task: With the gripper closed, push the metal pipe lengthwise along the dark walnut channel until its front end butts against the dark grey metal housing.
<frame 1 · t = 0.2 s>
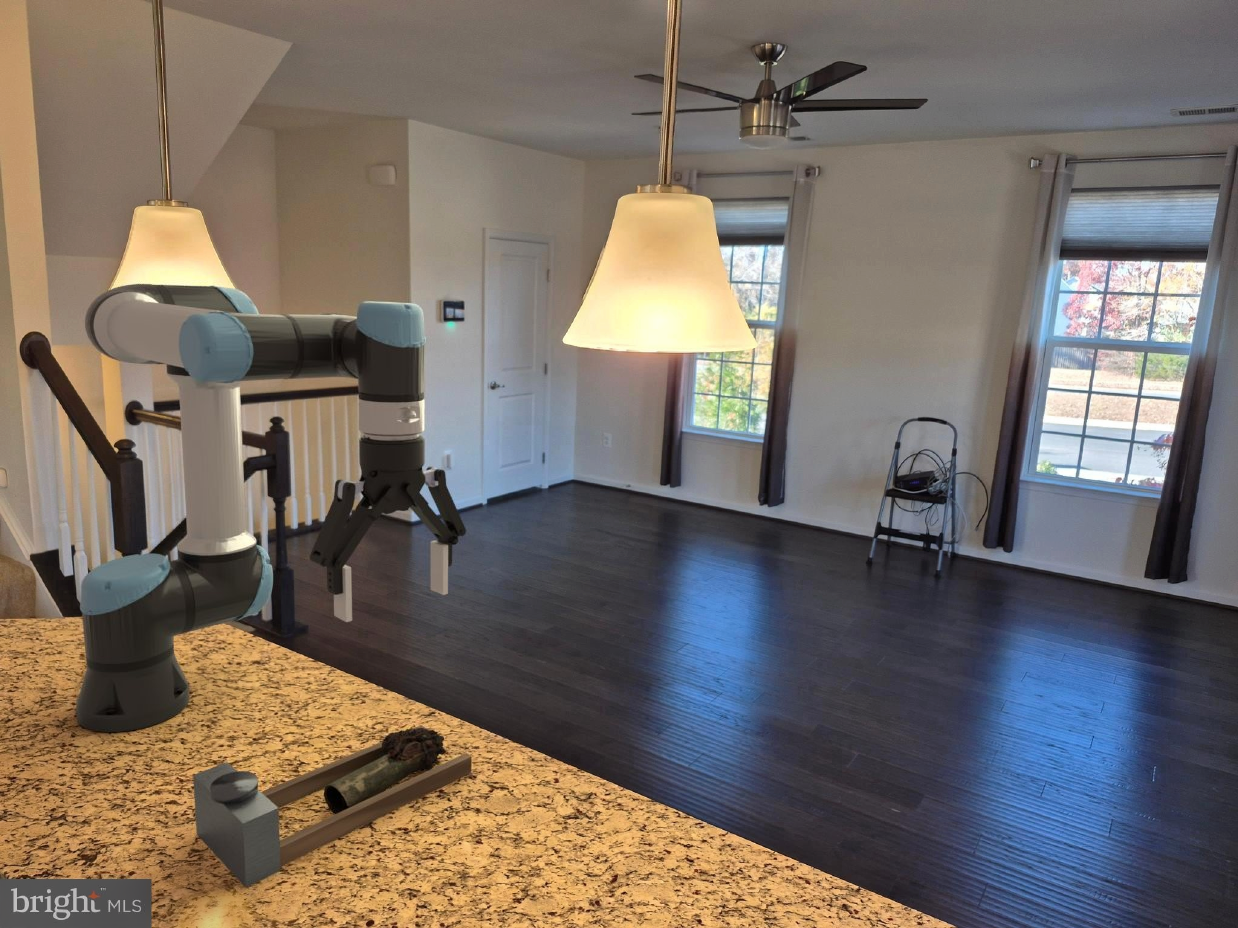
hand: (393, 604, 102), 28 cm above the countertop, tool pointing down, fingers open, 13 cm apart
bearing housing: (237, 851, 98), on the countertop
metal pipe: (386, 784, 113), on the countertop
channel rails: (358, 795, 110), on the countertop
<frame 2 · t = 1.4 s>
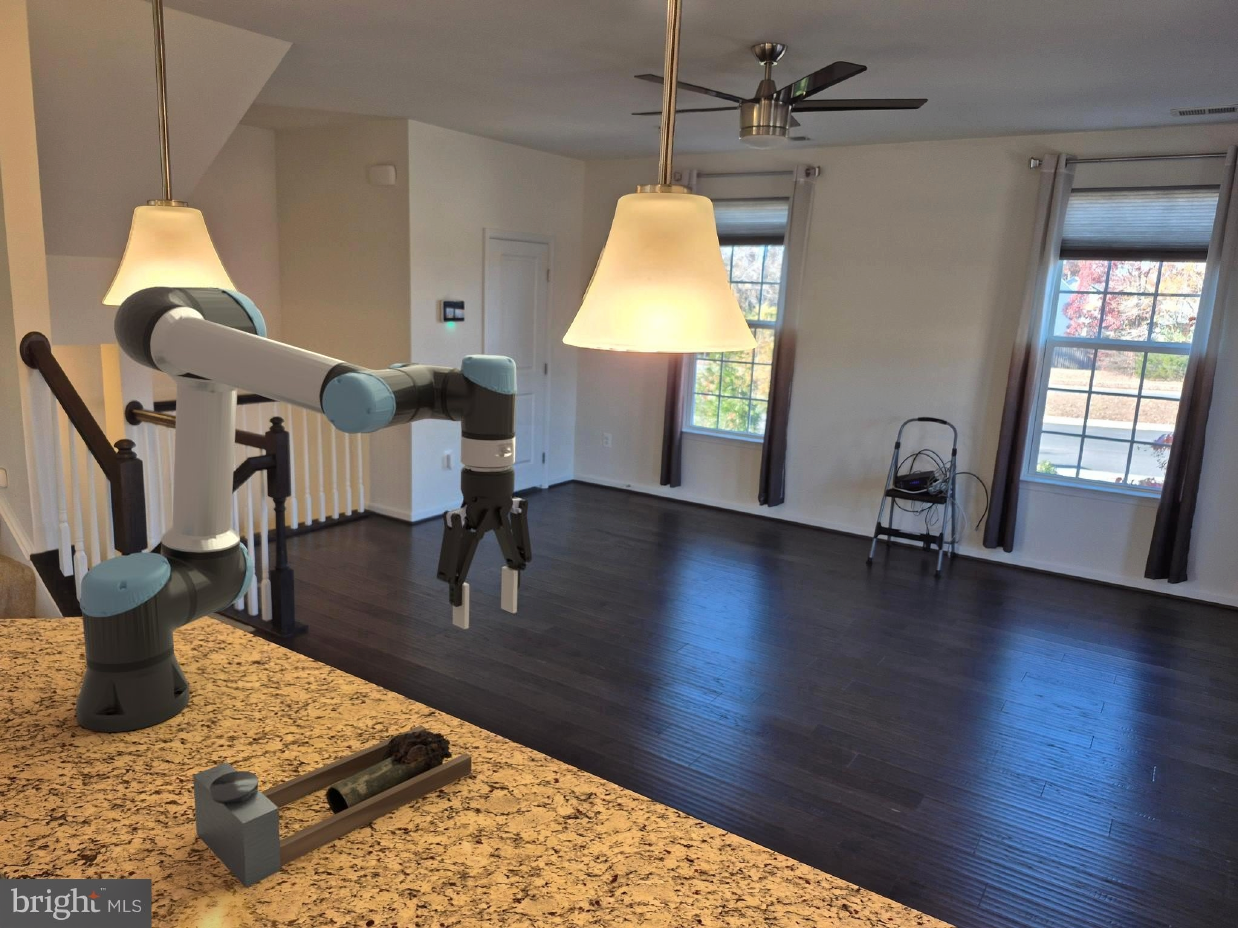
hand: (485, 617, 121), 19 cm above the countertop, tool pointing down, fingers open, 8 cm apart
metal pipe: (391, 787, 112), on the countertop
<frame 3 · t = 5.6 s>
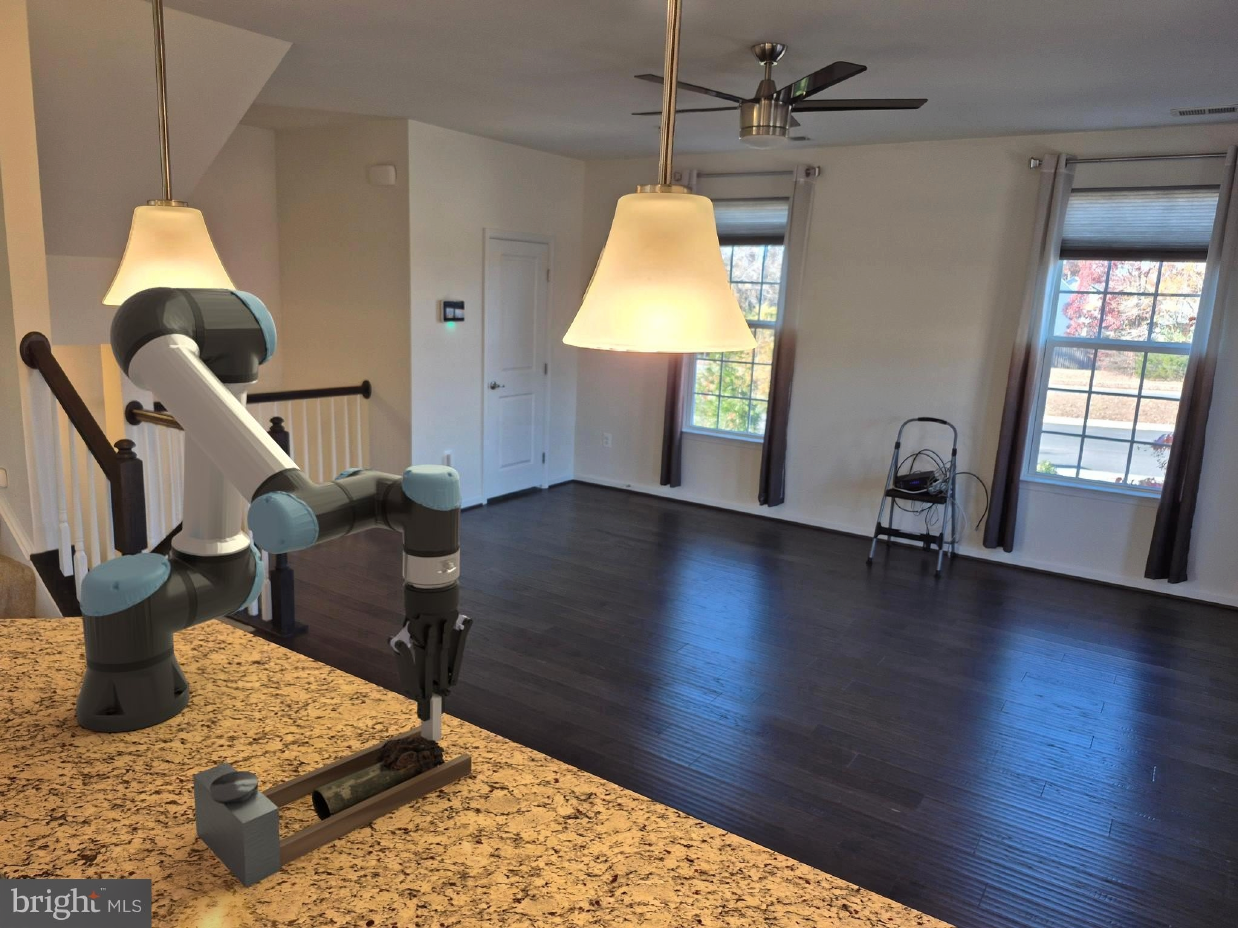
hand: (431, 737, 118), 4 cm above the countertop, tool pointing down, fingers closed
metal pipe: (380, 793, 111), on the countertop, touching gripper
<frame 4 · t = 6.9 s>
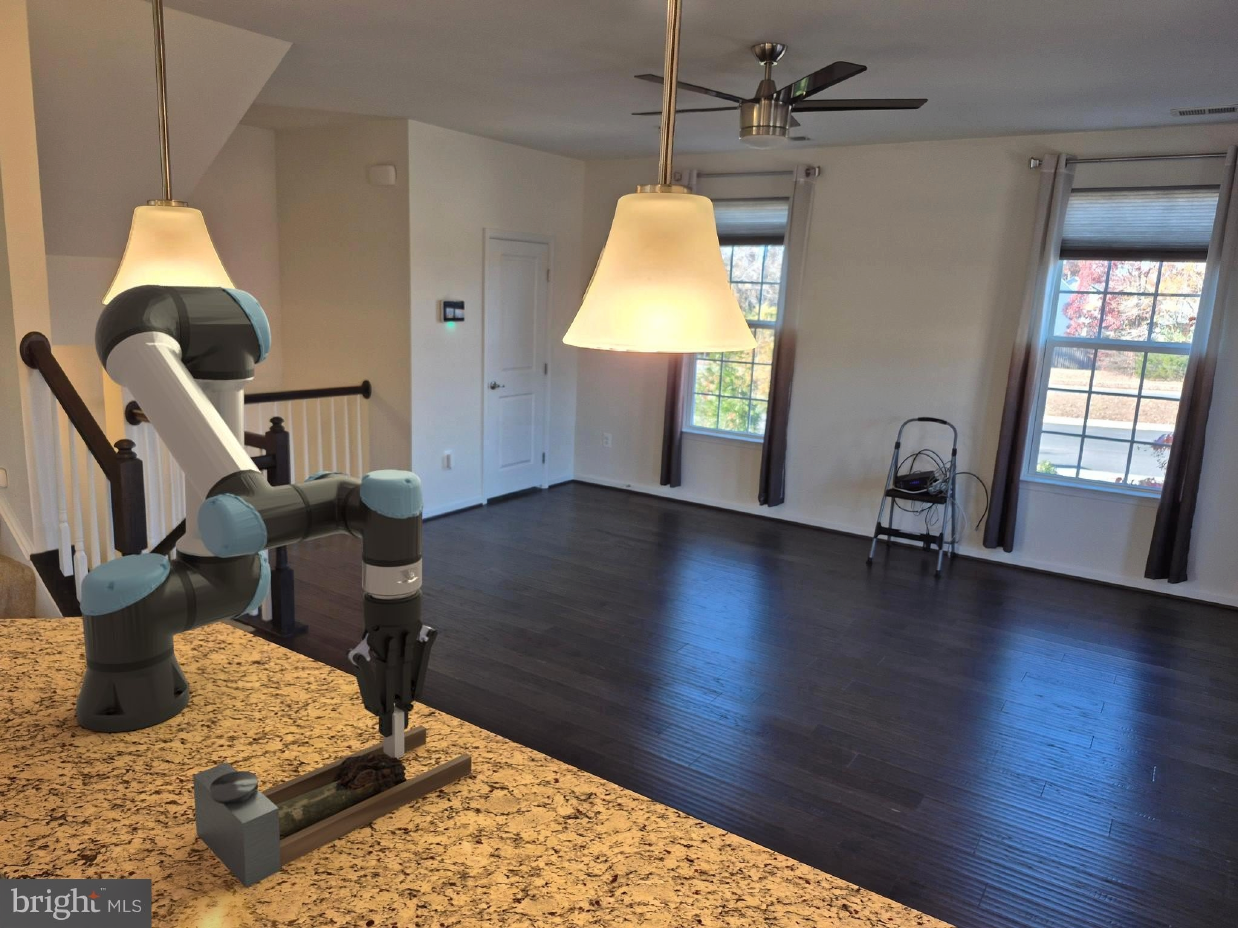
hand: (393, 753, 113), 4 cm above the countertop, tool pointing down, fingers closed
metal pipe: (338, 812, 106), on the countertop, touching gripper
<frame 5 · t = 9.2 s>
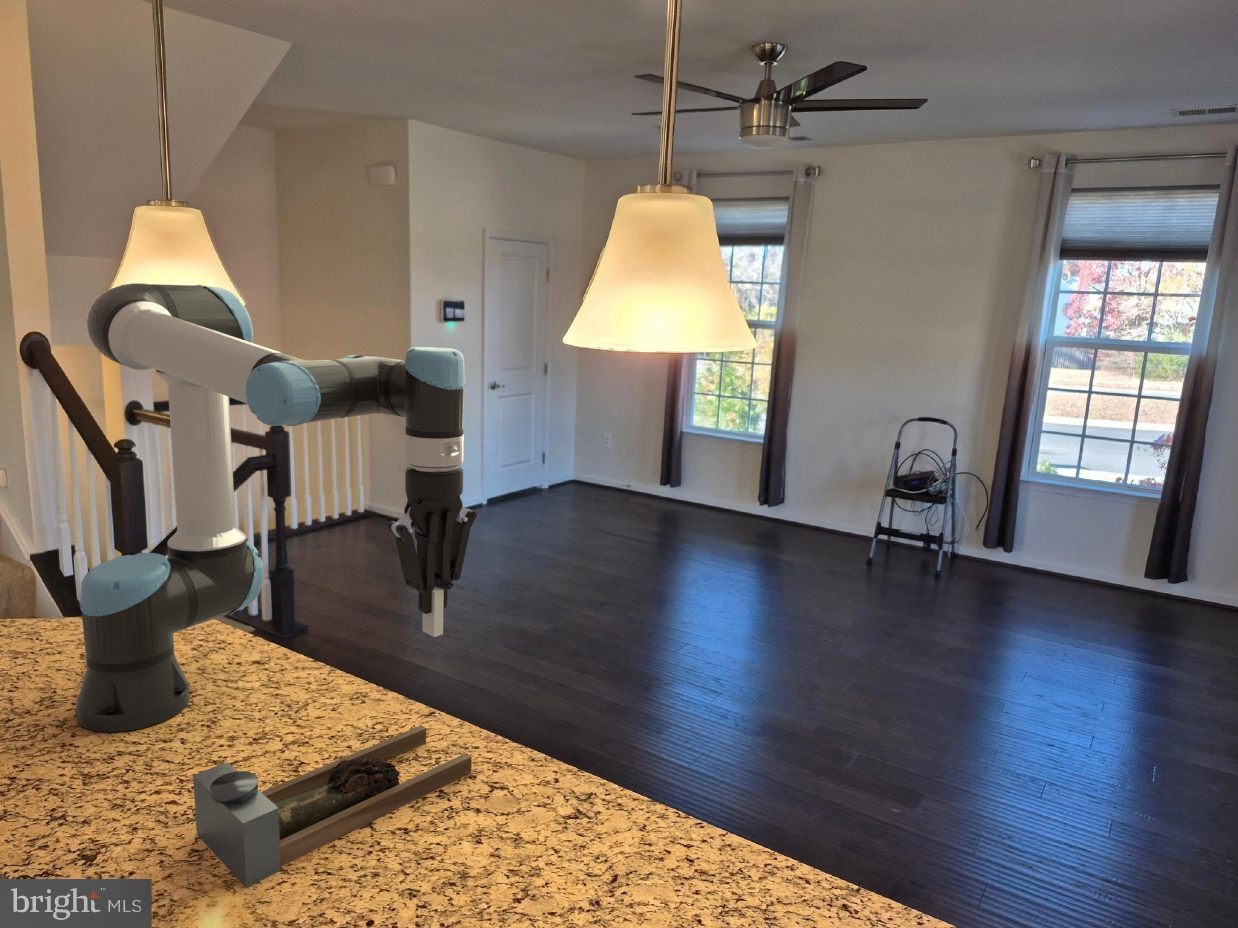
hand: (432, 632, 115), 20 cm above the countertop, tool pointing down, fingers closed
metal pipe: (330, 816, 106), on the countertop
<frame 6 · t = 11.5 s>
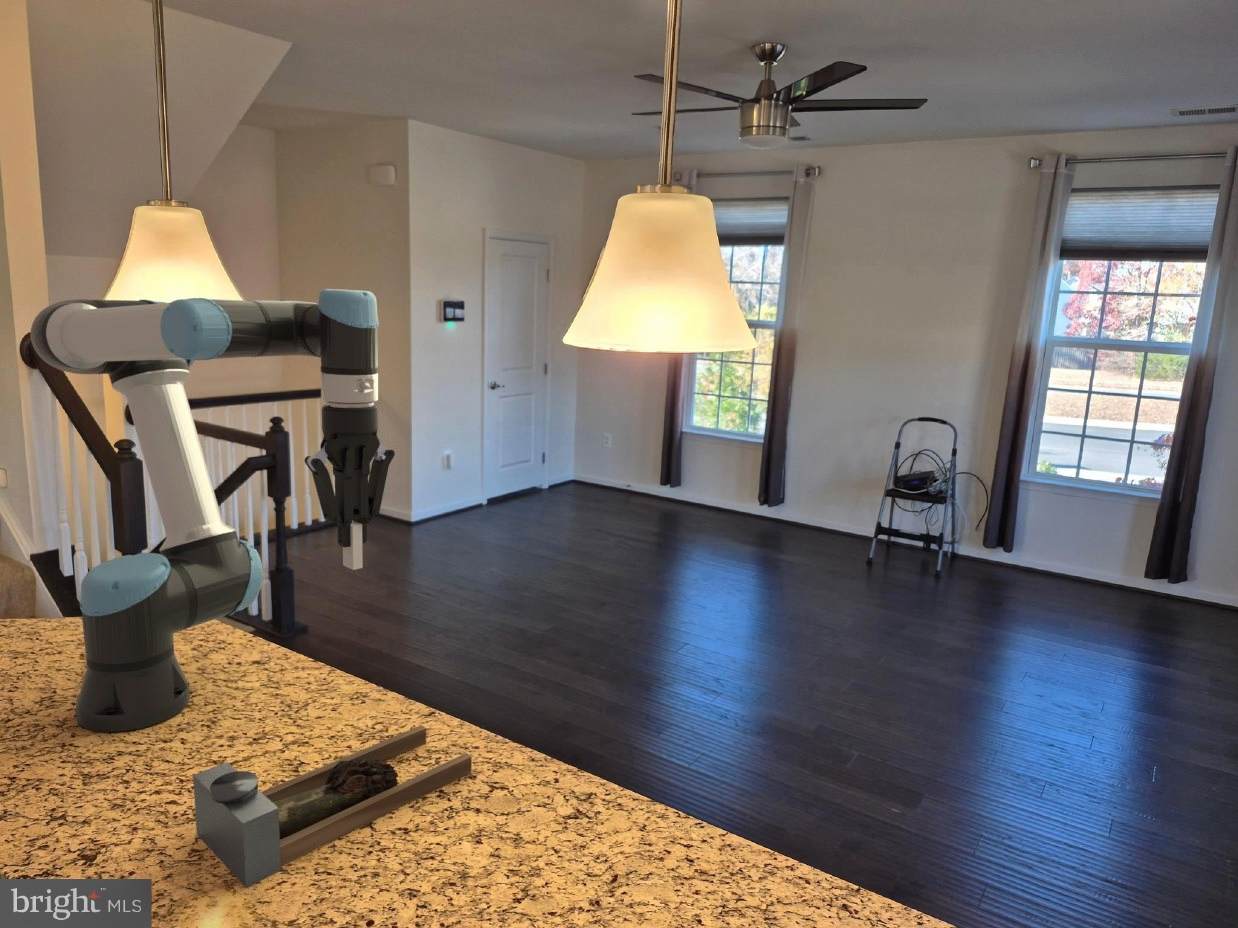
hand: (352, 566, 119), 26 cm above the countertop, tool pointing down, fingers closed
nothing on the countertop moved.
at the end: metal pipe 0.5 cm from the target spot, on the countertop; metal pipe moved 8.8 cm from its start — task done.
